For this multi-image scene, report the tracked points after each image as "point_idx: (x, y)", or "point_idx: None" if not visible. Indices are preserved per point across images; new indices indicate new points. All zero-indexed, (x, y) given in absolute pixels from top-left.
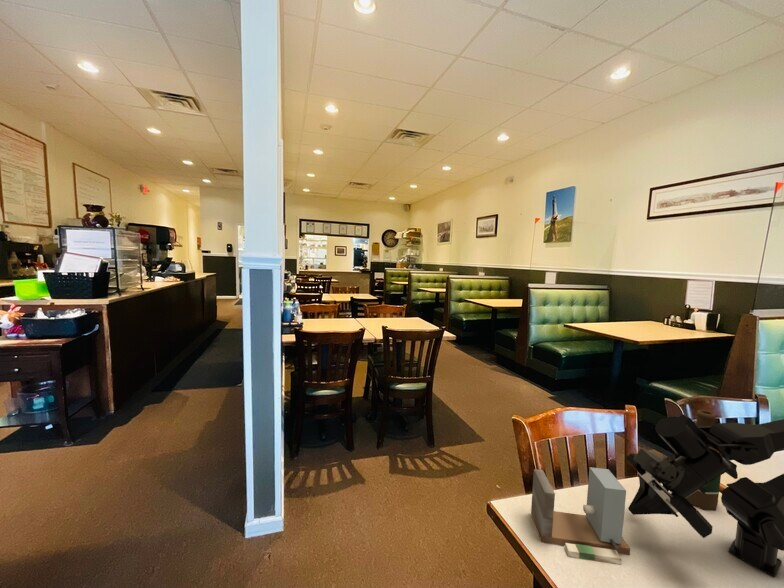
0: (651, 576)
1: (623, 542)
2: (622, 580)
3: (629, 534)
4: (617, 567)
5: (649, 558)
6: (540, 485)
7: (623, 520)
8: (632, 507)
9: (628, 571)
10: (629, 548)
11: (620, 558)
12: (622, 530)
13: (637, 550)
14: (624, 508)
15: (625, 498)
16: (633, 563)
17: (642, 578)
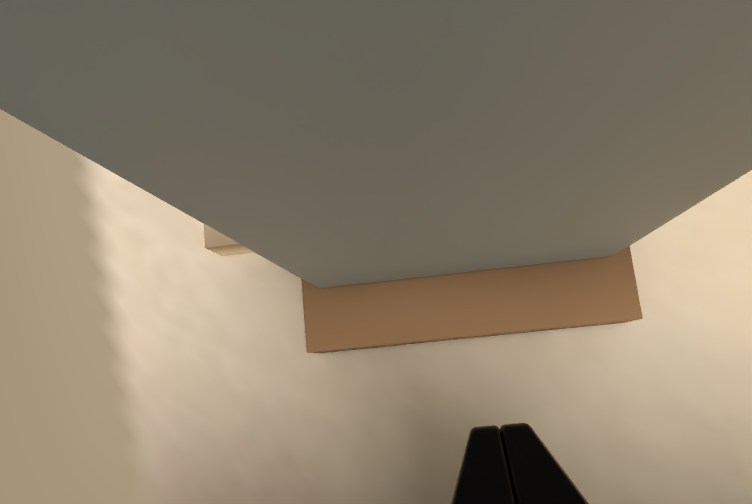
0: (170, 423)
1: (361, 323)
2: (103, 214)
3: (554, 455)
4: (193, 221)
5: (328, 497)
6: None
7: (250, 249)
8: (496, 474)
9: (177, 281)
10: (308, 346)
11: (206, 239)
12: (288, 270)
13: (386, 438)
14: (176, 205)
15: (46, 132)
16: (251, 347)
17: (142, 351)
